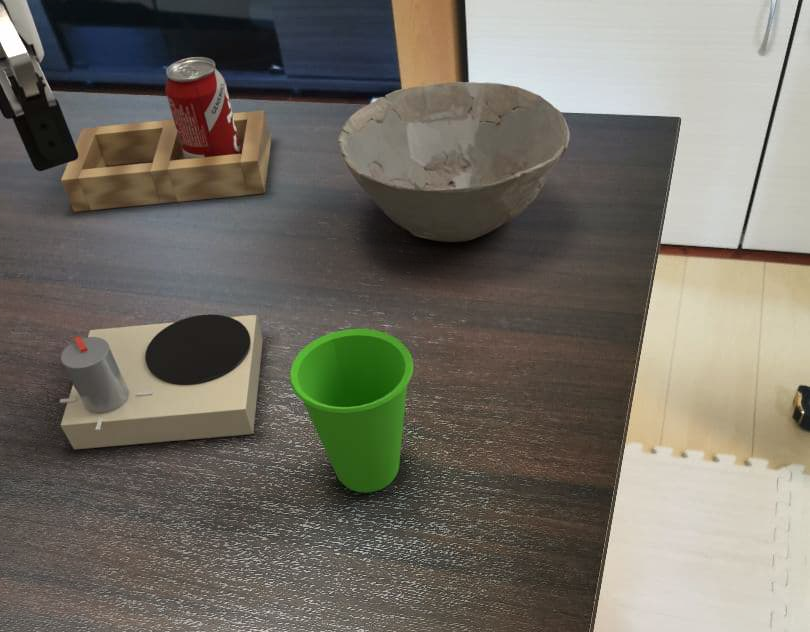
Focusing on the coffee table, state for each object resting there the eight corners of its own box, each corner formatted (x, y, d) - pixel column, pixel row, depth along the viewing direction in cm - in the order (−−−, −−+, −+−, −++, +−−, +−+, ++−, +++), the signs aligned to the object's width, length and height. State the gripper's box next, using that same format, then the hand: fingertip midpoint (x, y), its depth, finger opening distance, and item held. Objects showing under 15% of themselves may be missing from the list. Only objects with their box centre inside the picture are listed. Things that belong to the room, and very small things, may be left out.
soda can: (209, 192, 99) (180, 87, 90) (180, 173, 103) (148, 70, 94) (256, 169, 102) (232, 65, 93) (225, 152, 105) (199, 49, 96)
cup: (336, 527, 66) (313, 426, 57) (299, 454, 71) (273, 351, 63) (440, 488, 68) (433, 383, 59) (396, 419, 73) (383, 314, 64)
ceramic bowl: (571, 276, 84) (579, 181, 76) (342, 287, 86) (327, 195, 78) (554, 163, 97) (559, 72, 89) (357, 175, 99) (346, 87, 91)
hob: (64, 459, 73) (49, 433, 71) (95, 355, 82) (82, 328, 79) (252, 443, 73) (244, 416, 70) (263, 339, 81) (256, 312, 79)
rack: (74, 212, 99) (60, 179, 96) (94, 159, 107) (82, 128, 104) (264, 193, 98) (257, 160, 95) (271, 142, 106) (264, 109, 103)
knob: (135, 400, 73) (114, 352, 68) (91, 419, 72) (67, 371, 67) (120, 376, 75) (98, 327, 71) (77, 394, 74) (53, 345, 70)
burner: (138, 389, 74) (137, 387, 73) (154, 321, 80) (153, 319, 79) (246, 380, 73) (245, 377, 73) (254, 312, 79) (253, 309, 79)
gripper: (-164, -167, 53) (-33, 109, 66) (-127, -104, 43) (18, 204, 57) (-45, -191, 55) (59, 82, 68) (16, -137, 45) (123, 169, 59)
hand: (40, 137), depth 63 cm, fingers open, 9 cm apart
